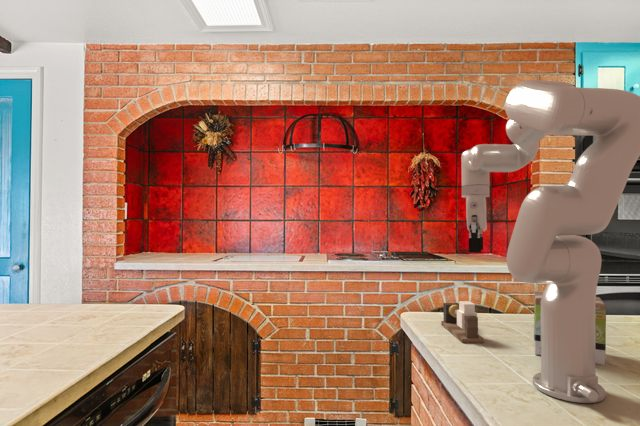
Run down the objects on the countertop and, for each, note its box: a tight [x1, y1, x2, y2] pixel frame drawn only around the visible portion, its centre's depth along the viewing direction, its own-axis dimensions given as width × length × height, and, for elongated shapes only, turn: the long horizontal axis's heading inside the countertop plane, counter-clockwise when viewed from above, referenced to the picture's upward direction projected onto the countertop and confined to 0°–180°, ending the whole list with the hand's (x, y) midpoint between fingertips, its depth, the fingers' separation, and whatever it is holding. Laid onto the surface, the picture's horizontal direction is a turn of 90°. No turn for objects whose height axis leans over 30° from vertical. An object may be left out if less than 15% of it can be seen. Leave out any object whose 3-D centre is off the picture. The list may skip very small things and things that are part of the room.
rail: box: [441, 302, 485, 344], centre depth 120 cm, size 18×6×7 cm, turn 1°
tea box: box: [533, 291, 607, 366], centre depth 102 cm, size 15×10×15 cm, turn 62°
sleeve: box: [457, 300, 478, 329], centre depth 115 cm, size 4×4×7 cm
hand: (476, 251), depth 115 cm, fingers open, 9 cm apart
